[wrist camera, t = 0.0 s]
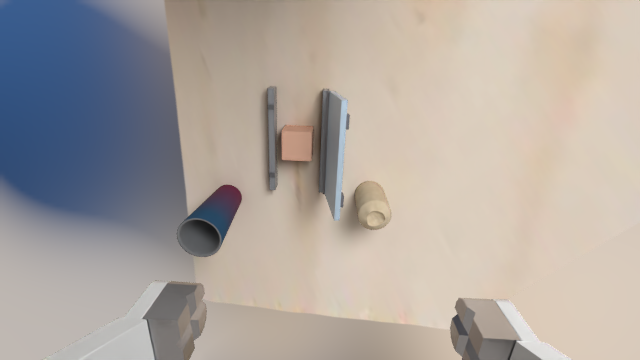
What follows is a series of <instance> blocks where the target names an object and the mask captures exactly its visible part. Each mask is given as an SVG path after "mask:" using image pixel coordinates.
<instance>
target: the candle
mask: <svg viewBox="0 0 640 360" xmlns="http://www.w3.org/2000/svg"><path fill="white" fill-rule="evenodd" d="M355 201H356V207H357V214H358V219H359V222H360V223H361V225H362V226H364V227H365V228H367V229H371V230H377V229H381V228H383V227H385V226H386V225H387V224H388V223H389V221H390V219H391V210H390V207H389V204H388V201H387V199H386V196H385V193H384V191H383V188H382V187H381V186H380V185H379V184H378V183H376V182H373V181H367V182H364V183H362V184H360V185H359V186H358V187H357V189H356V192H355Z"/></svg>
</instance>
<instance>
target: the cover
mask: <svg viewBox="0 0 640 360" xmlns="http://www.w3.org/2000/svg"><path fill="white" fill-rule="evenodd" d="M347 103H348V100H347V99H345V98H344V97H342V96H341V95H339V94H338V93H336V92H335V91H327V112H326V134H325V156H324V178H323V194H325V196H326V199H327V202H328V205H329V207H330V210H331V213H332V216H333V218H334V220H339V219H340V207H343V199H344V195H343V193H342V192H341V190H342V175H343V161H344V146H345V132H346V129H349V116H350V115H349V114H348V113H347Z"/></svg>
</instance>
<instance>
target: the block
mask: <svg viewBox="0 0 640 360" xmlns="http://www.w3.org/2000/svg"><path fill="white" fill-rule="evenodd" d="M313 127H314V126H293V125H285V126H284V128H283V130H282V160H294V161H311V160H312V155H313Z"/></svg>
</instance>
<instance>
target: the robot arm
mask: <svg viewBox="0 0 640 360" xmlns="http://www.w3.org/2000/svg"><path fill="white" fill-rule="evenodd" d="M204 294H205V293H204V287H203V285H202V284H201V283H188V282H175V281H171V282H170V281H159V280H155V281H153V282H152V283H151V284H150V285H149V286H148V287H147V289H146V290H145V291H144V292H143V294H142V295H141V296H140V297H139V299H138V300H137V301H136V303H135V304H134V305H133V306H132V308H131V309H130V310H129V311H128V313H127V314H126V315H125V316H124V318H117V319H115V320H114V321H112V322H110V323H108V324H106V325H104V326H102V327H101V328H99V329H97V330H95V331H93V332H92V333H90V334H88V335H87V336H84V337H83V338H81V339H79V340H77V341H75V342H74V343H72V344H70V345H68V346H66V347H65V348H63V349H61V350H59V351H57V352H55V353H54V354H52V355H50V356H48V357H46V358H45V359H43V360H189V359H190V357H191V355H192V352H193V351H194V348H195V347H194V340H195V339H197V338H198V337H199V336H200V335H201V333H202V331H203V328H204V325H205V321H206V312H207V310H206V304H205V303H204V302H203V301H202V298H203V296H204ZM455 309H456V311H457V313H458V314H457V315H456V316H455V317H453V318H452V322H451V327H450V329H451V339H452V343H453V346H454V349H455V351H456V352H457V353H459V354H460V355H461V356H462V360H572V359H570V358H568V357H567V356H565V355H564V354H562V353H561V352H559V351H558V350H556V349H555V348H553V347H552V346H550V345H549V344H547V343H546V342H540V341H539V339H538V338H537V337H536V335H535V334H534V333H533V331H532V330H531V328H530V327H529V325H528V324H527V323H526V321H525V320H524V319H523V317H522V316H521V315H520V313H519V312H518V310H517V309H516V308H515V306H514V305H513V303H512V302H510V301H509V300H503V299H491V300H490V299H472V298H459V299H458V300H457V301H456V305H455Z"/></svg>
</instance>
